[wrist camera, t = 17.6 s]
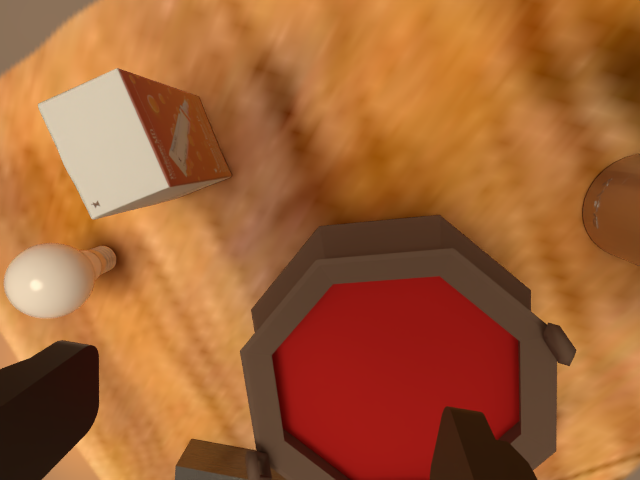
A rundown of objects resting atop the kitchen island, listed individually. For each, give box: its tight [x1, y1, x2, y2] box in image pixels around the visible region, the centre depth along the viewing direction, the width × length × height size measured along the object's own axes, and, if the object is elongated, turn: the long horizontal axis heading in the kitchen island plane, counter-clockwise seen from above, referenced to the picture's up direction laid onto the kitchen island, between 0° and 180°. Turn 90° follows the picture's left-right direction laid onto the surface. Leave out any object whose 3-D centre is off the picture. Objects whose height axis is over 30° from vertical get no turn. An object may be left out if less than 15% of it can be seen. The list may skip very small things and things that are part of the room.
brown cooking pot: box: [240, 215, 576, 480], centre depth 32 cm, size 24×24×16 cm
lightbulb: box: [4, 243, 116, 319], centre depth 37 cm, size 6×6×11 cm
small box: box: [38, 68, 232, 219], centre depth 32 cm, size 8×6×13 cm
